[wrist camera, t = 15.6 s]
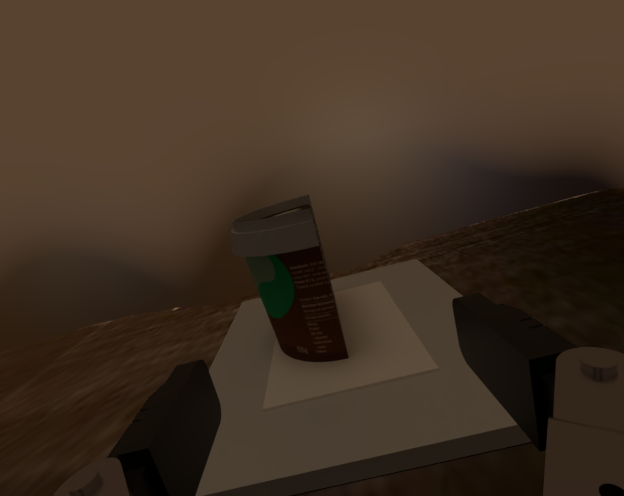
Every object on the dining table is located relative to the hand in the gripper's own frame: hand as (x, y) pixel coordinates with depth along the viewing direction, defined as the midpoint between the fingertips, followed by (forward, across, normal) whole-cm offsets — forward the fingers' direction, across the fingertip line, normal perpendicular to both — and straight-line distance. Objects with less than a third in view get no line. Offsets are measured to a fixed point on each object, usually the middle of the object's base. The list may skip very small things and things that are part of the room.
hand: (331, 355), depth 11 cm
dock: (+14, 0, +8) cm, 16 cm away
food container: (+14, +3, +6) cm, 16 cm away
